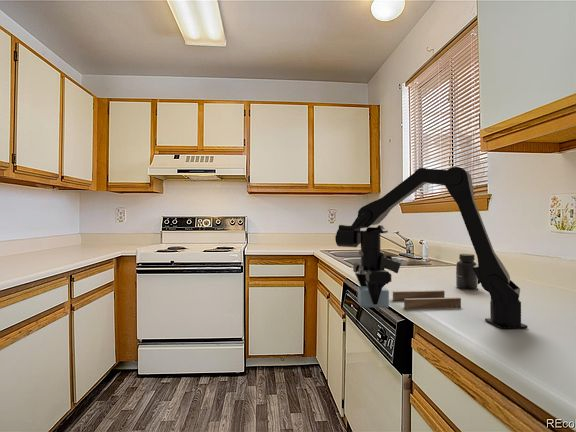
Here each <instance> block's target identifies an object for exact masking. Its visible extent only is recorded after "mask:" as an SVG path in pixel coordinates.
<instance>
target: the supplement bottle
mask: <svg viewBox="0 0 576 432" xmlns="http://www.w3.org/2000/svg"><path fill="white" fill-rule="evenodd" d="M458 259H459V261H456V265H455V268H456V270H455V271H456V273H455V283H456V285H455V286H456V287H457V288H458V289H462V290H469V291H471V290H476V289H478V285H479V284H478V279H477V276H476V274H475V272H474V271H473V267H474V266H475V265H476V264H477V262H475V254H472V253H459V257H458Z"/></svg>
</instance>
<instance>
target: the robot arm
mask: <svg viewBox="0 0 576 432" xmlns="http://www.w3.org/2000/svg"><path fill="white" fill-rule="evenodd" d="M426 184H431V185H438V186H440V185H441V186H445V188H446V190H447V191H448V193H449V195H450V196H451V197H452V198H453V200H454V202H456V205H457V207H458V210H459V212H460V215H461V218H462V221H463V223H464V225H465V228H466V230H467V233H468V236H469V238H470V241H471V244H472V247H473V249H474V252H475V254H476V258H477V263H476V265H475V266H474V267H473V271H474V272H475V274H476V276H477V279H478V285H479V284H480V285H481V287H482V289H483V290H485V291H486V292H488V294H489V295H490V302H489V303H490V307H489V308H490V318H489V317H488V318H484V321H485V322H487V323H490V324H491V325H493V326H495V327H497V328H499V329H503V330H506V329H528V325H527V324H525V323H522V301H520V299H519V298H520V295H521V294H520V293H521V288H520V287H519V286H518V285H517V284H516V283H514V281H512V280H511V276H510V274H509V272H508V270H507V269H506V266H505V265H504V264H503V262H502V261H501V259H500V258H499V256H498V255H497V254H496V252H495V250H494V248H493V245H492V242H491V239H490V238H489V233H488V232H487V230H486V229H487V228H486V227H485V224H484V221H483V219H482V216H481V214H480V212H479V211H480V210H479V209H478V206H477V204H476V201H475V195H474V194H475V193H474V192H475V191H474V185H473V178H472V175H471V174H470V172H468V171H467V170H466V169H464V168H463V167H459V166H452V167H450V168H448V169H440V168H439V169H435V168H432V169H430V168H425V167H419V168H417V169H416V170H415V171H414V172H413V173H412V174H410V176H408V177H407V178H406V179H404V180H403V181H401V182H400V183H399V184H397V185H396V186H394V188H393V189H391V190H390V191H389V192H387V193H386V194H384V195H383V196H382V197H380V198H378V199H376V200H374V201H371V202H369V203H367V204H366V205H363V206H362V207H360V208H359V210H358V211H357V217H356V218H355V220H354V221H353V223H352V224H351V225H347V224H339V225H338V228H337V231H336V233H335V237H334V240H335V243H336V245H337V247H339V248H340V247H343V248H345V247H346V248H357V247H358V246H359V245H360V250H358V255H360V262H356V263H354V264H353V265H352V267H353V268H352V269H353V271H352V272H353V273H354V275H355V277H356V279H357V281H358V284H359V286H367V288H368V291H369V294H370V297H371V299H372V302H373V304H374V305H377V304H378V300H379V297H380V293H381V290H382V287H383V286H384V287H385V286H386V285H388V284H389V283H391V282H392V274H391V272H393V273H396V274H398V273H399V270H400V268H401V264H402V263H401V262H398V261H395V260H393V257H392V256H391V255H388V254H384V253H383V251H382V250H381V234H387V233H388V230H387V229H386V228H385V227H384V226H383V225H382V224H380V223H381V222H382V221H383V220H384V219H385V218H386V217H387V216H388V214H390V212H391V210H393V208H395V207H396V206H398V205H399V204H400V203H402V202H403V201H404V200H406V198H408V197H410V196H411V195H412V194H414V193H415V192H416V191H418V190H419V189H421V188H422V187H423V186H425V185H426ZM375 225H378V226H376V227H375ZM371 226H373V227H371ZM361 229H365V230H361ZM385 269H386V270H385ZM387 270H388V271H387ZM389 271H390V272H389Z"/></svg>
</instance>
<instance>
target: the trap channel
mask: <svg viewBox="0 0 576 432" xmlns="http://www.w3.org/2000/svg"><path fill="white" fill-rule="evenodd" d="M445 293H446V291H444V290H441V289H440V290H406V291H405V290H403V291H402V290H400V291H399V290H397V291H395V290H394V291H392V300H393V301H403V303H404V306H403V307H404V308H405V309H436V308H438V309H439V308H442V309H443V308H444V309H445V308H461V307H462V298H460V297H453V296H452V297H445V295H446V294H445Z"/></svg>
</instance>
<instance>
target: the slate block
mask: <svg viewBox="0 0 576 432" xmlns="http://www.w3.org/2000/svg"><path fill="white" fill-rule="evenodd" d="M389 292H390V291H389V289H387V287H386V286H385V285H384V286H383V287H382V290H381V293H380V297H379V300H378V304H377V305H374V304H373V302H372V299H371V297H370V294H369V291H368V288H367V286H360V285H358V286H357V303H358V305H359V307H360V308H386V309H387V308H389V307H390V299H389V298H390V297H389V295H390V293H389Z"/></svg>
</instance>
